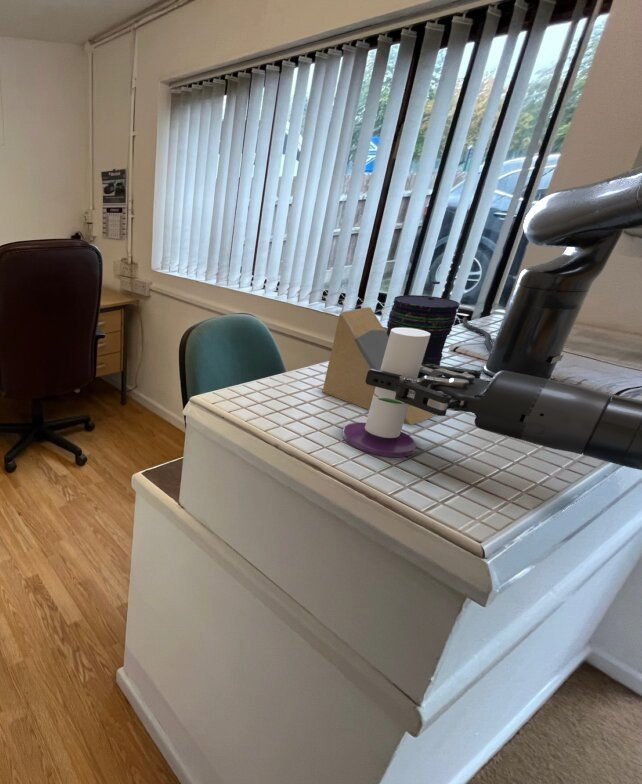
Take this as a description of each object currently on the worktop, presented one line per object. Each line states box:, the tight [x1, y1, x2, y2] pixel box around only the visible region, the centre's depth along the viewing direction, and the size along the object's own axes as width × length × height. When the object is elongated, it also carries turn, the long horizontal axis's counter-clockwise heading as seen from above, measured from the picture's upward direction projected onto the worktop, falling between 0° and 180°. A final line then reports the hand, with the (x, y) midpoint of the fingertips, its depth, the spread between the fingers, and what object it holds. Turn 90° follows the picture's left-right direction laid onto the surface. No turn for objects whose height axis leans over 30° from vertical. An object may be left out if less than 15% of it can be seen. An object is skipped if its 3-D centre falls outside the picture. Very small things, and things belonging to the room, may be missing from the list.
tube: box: [365, 328, 431, 438], centre depth 64 cm, size 4×4×15 cm
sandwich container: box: [322, 306, 436, 426], centre depth 77 cm, size 9×15×15 cm, turn 27°
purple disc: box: [342, 422, 417, 458], centre depth 68 cm, size 9×9×1 cm
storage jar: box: [385, 280, 460, 367], centre depth 87 cm, size 10×10×18 cm
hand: (375, 372), depth 66 cm, fingers closed on tube, 4 cm apart
